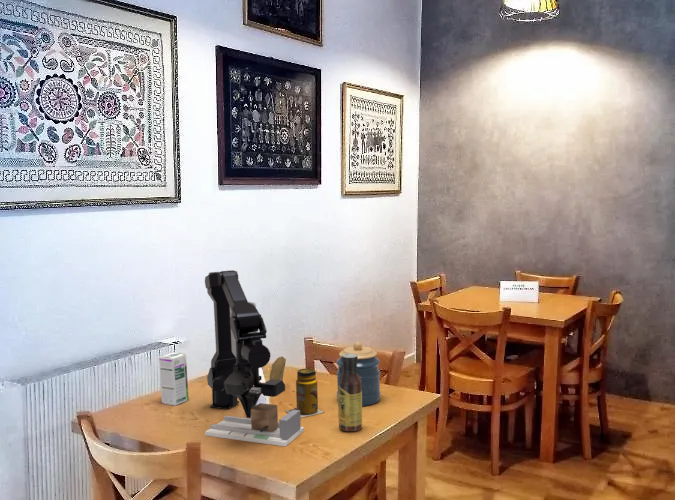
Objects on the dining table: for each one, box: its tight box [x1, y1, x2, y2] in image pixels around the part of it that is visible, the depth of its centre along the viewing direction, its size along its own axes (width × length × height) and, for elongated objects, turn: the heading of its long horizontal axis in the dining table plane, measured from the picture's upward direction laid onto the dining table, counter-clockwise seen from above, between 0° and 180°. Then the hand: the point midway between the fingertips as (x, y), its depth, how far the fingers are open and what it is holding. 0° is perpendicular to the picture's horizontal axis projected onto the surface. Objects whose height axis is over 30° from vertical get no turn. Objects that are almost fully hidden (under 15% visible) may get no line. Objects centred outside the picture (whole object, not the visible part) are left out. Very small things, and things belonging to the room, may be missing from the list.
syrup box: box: [158, 352, 189, 407], centre depth 198 cm, size 6×6×14 cm
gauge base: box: [204, 409, 305, 447], centre depth 172 cm, size 23×11×6 cm, turn 68°
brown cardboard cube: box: [250, 402, 279, 432], centre depth 169 cm, size 5×8×6 cm, turn 158°
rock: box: [268, 356, 287, 382], centre depth 210 cm, size 11×9×10 cm
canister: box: [335, 341, 381, 407], centre depth 197 cm, size 13×13×18 cm
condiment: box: [285, 368, 324, 419], centre depth 187 cm, size 7×8×12 cm
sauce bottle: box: [337, 353, 363, 432], centre depth 173 cm, size 6×6×20 cm
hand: (249, 417), depth 172 cm, fingers closed
